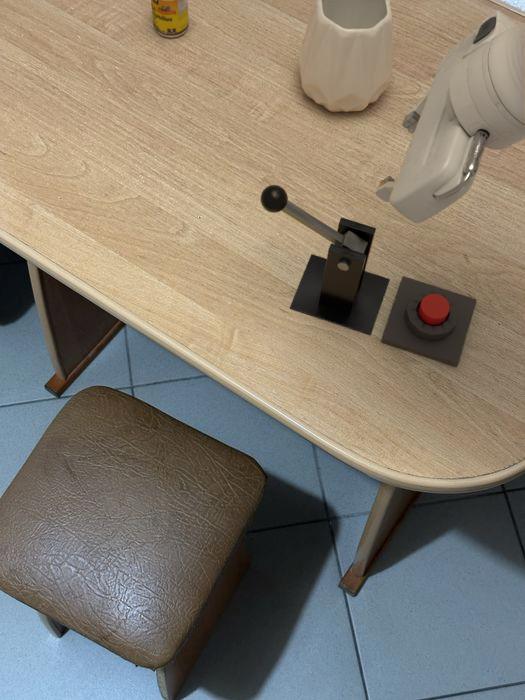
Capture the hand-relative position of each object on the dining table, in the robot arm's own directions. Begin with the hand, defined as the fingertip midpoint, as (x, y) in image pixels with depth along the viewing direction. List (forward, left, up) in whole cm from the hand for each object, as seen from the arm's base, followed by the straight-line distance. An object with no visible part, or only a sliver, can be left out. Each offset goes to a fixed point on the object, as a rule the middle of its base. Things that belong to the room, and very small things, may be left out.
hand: (395, 158), depth 85 cm
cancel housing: (-10, 0, -29) cm, 31 cm away
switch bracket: (+2, 0, -29) cm, 29 cm away
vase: (+13, -36, -29) cm, 48 cm away
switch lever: (+8, 0, -16) cm, 18 cm away
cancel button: (-10, 0, -25) cm, 27 cm away
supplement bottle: (+42, -38, -29) cm, 64 cm away
